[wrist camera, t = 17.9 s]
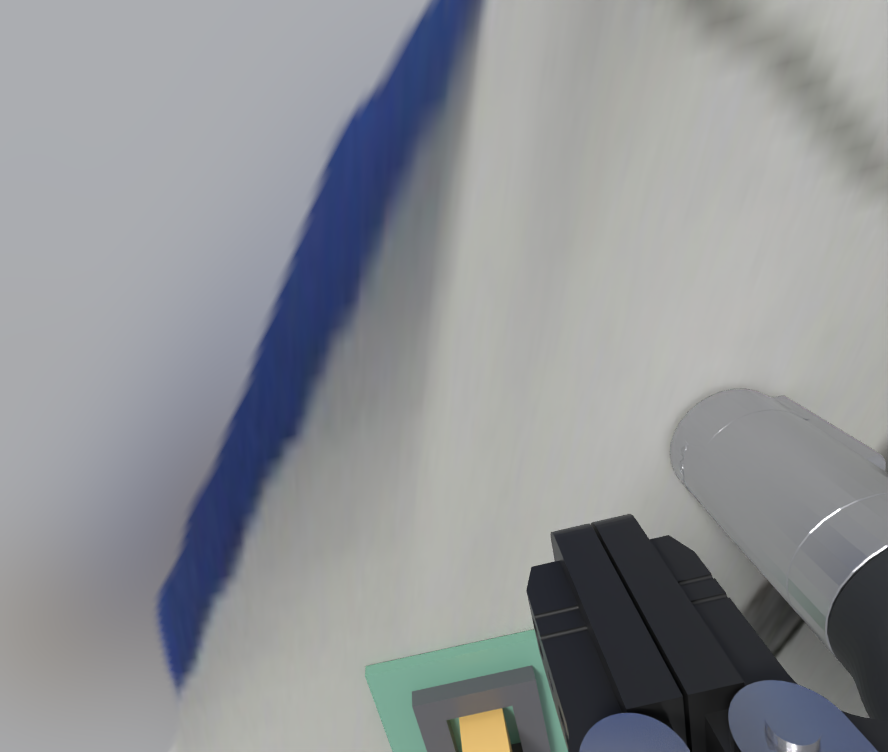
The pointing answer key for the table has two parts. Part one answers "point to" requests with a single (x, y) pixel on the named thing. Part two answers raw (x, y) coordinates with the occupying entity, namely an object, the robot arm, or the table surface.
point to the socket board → (453, 670)
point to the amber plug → (485, 732)
